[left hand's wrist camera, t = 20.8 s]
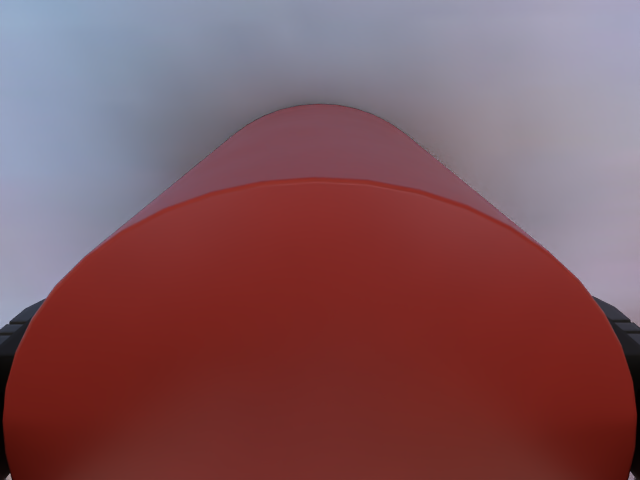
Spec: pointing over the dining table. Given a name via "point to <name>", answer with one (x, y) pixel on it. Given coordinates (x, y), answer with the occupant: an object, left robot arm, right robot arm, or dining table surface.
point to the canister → (319, 330)
